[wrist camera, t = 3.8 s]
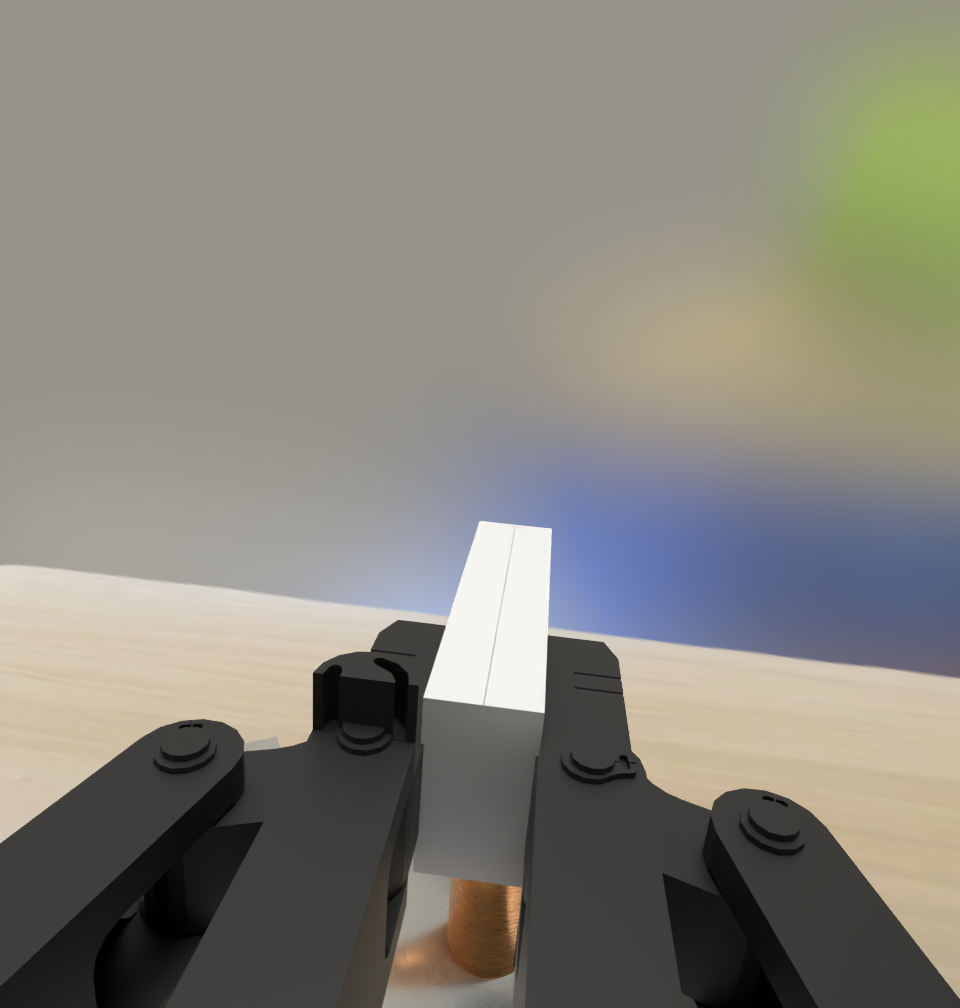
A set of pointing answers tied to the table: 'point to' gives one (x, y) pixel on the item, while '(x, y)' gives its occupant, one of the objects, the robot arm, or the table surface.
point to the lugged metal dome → (451, 940)
